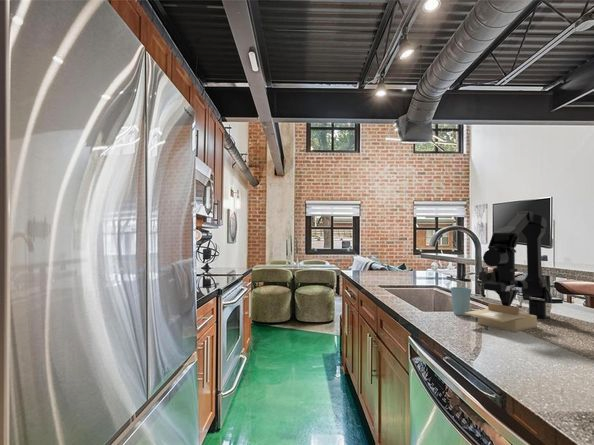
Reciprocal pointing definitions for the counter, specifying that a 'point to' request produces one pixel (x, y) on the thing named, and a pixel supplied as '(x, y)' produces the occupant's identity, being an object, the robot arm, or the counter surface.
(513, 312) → the lid
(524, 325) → the box
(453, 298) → the cup
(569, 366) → the counter surface
